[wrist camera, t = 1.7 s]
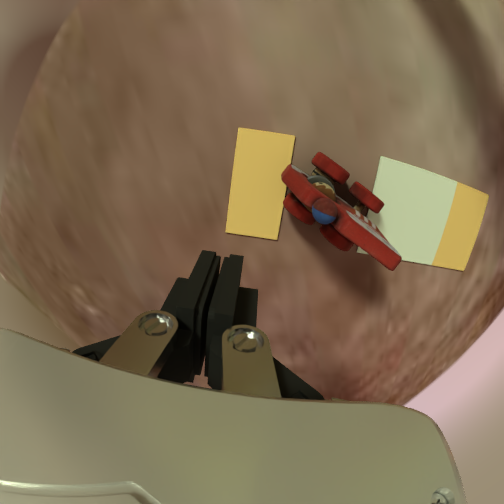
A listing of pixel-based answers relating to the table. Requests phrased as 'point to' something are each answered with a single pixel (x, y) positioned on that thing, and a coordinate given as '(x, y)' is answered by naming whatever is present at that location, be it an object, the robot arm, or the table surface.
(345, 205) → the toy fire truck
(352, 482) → the robot arm
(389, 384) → the table surface
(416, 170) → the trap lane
